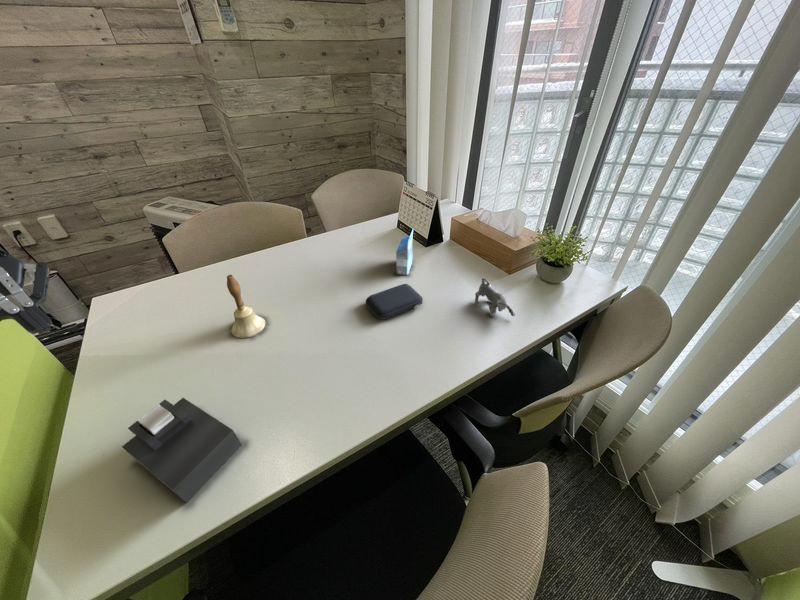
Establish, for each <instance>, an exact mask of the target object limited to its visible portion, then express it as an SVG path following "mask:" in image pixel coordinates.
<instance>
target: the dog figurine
mask: <svg viewBox="0 0 800 600" xmlns="http://www.w3.org/2000/svg"><path fill="white" fill-rule="evenodd" d="M474 295H475V298H474V304H475V305H479V299H480V297H486V299H487V300H488V301H489V302H490V303H491V304H489V305H488V310H489V315H490V316H491V317H494V316H495V315H496V313H497V311H498V312H502V311H503V310H505V309H507V310H508V312H509V314H510V315H511V316H512V317H515V316H516V314H515V312H514V310H513V309H512V308H511V306H510V305H509V304H508V300H507V297H506V296H505V295H504V294H503V293H501V292H499V291H497V290H495V289H494V288H493V287H492V285H491V282H489V280H487V279H486V277H482V278H481V284H480V285H479V288H478V290H477V291H476V292H475V294H474Z"/></svg>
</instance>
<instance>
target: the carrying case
mask: <svg viewBox="0 0 800 600" xmlns="http://www.w3.org/2000/svg"><path fill="white" fill-rule="evenodd" d="M423 299H424V298H423V296H421V294H420V293H419V292H417V290H416V289H414V288H413V287H412V286H411V285H410V284H408V283H403V284H400V285H396V286H394V287H390V288H388V289H384V290H382V291H379V292H377V293H374V294H370V295H369V296H368V297H367V298H366V299H365V305H366V306H367V307H368V308H369V309H370V311H371V312H372V313H373V314H374V316H376V318H378V319H380V320H384V319H388V318H391V317H393V316H396V315H398V314H401V313H403V312H406V311H409V310H411V309H412V310H413V311H415V310H416V309H418V308H419V307H421V305H422V304H423V301H424V300H423Z"/></svg>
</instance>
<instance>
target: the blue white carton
mask: <svg viewBox="0 0 800 600" xmlns="http://www.w3.org/2000/svg"><path fill="white" fill-rule="evenodd" d="M413 235H414V229H412V230H411V232H410V235H407V236H405V237H402V238H401V239H400V242H399V245H398V246H397V250H396V252H395V253H396V254H395V258H396V261H395V262H396V275H401V276H402V275H404V276H408V275H409V272H410V269H411V266H412V265H413Z"/></svg>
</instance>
